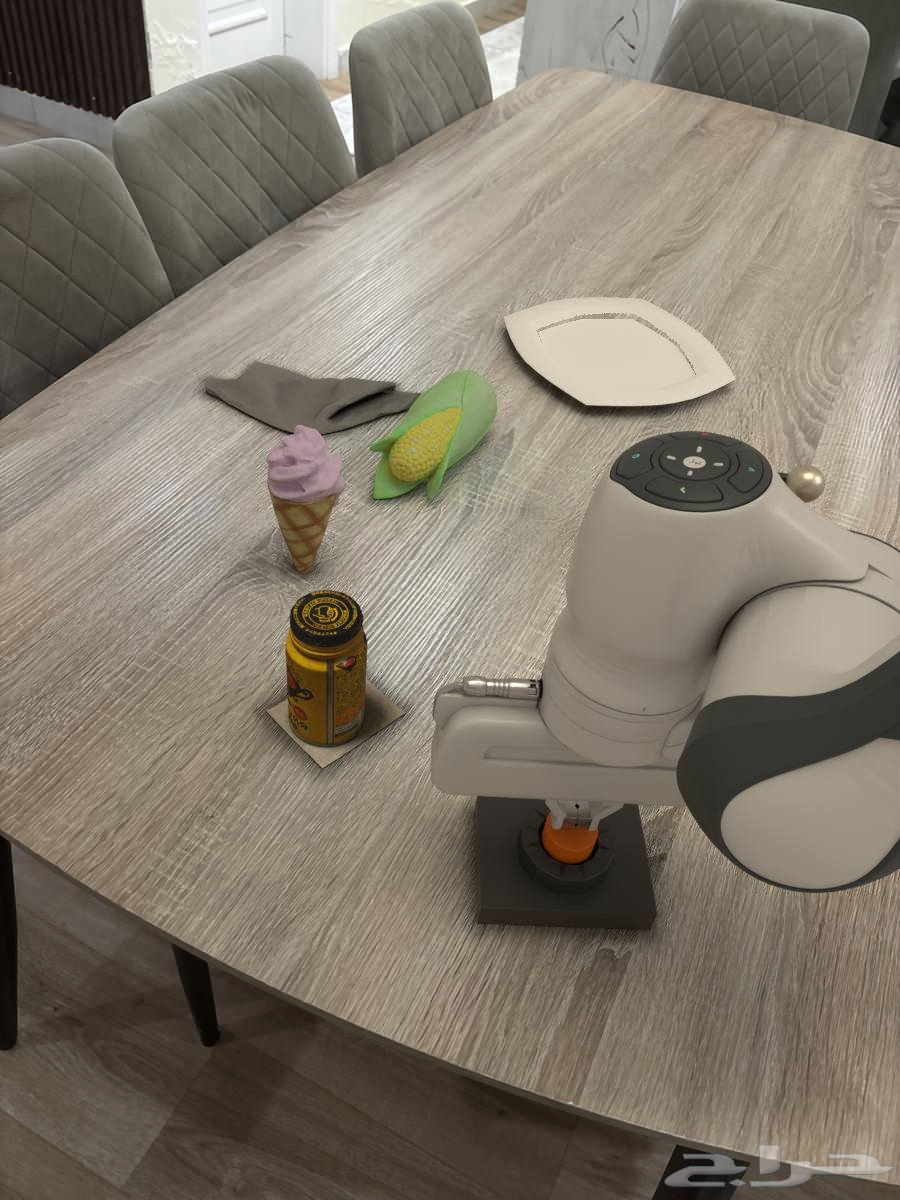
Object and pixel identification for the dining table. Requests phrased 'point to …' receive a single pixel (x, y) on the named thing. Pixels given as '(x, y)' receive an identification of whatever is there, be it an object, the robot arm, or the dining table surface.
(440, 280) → the dining table surface
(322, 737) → the condiment
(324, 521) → the ice cream cone
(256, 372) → the cloth
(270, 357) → the dining table surface
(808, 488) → the switch lever
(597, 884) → the dark grey button base
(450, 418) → the corn
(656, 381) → the plate
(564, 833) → the power button
